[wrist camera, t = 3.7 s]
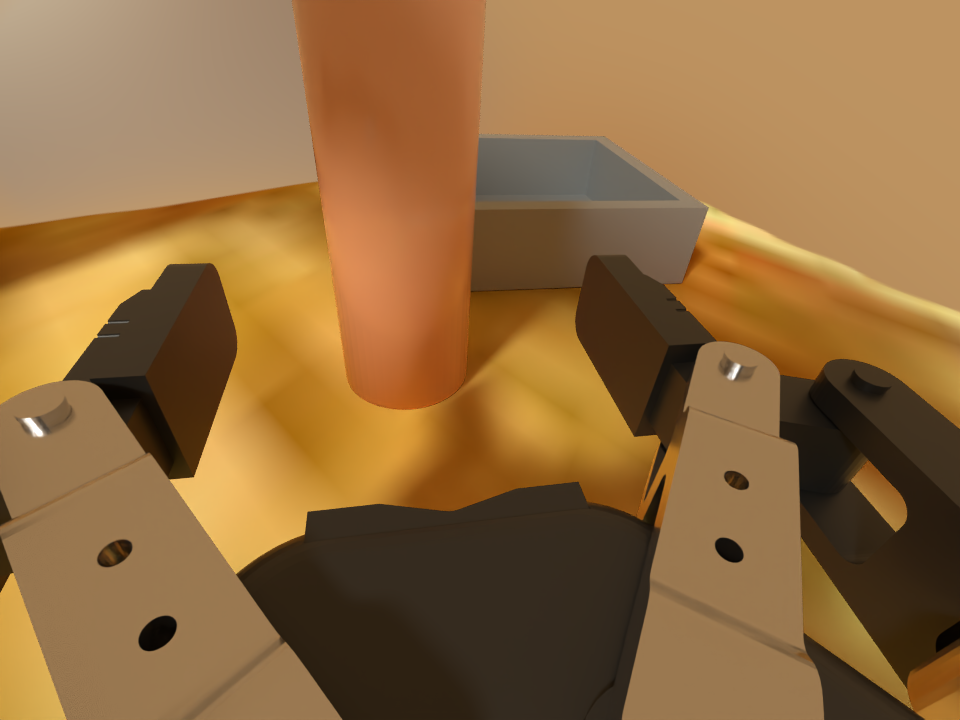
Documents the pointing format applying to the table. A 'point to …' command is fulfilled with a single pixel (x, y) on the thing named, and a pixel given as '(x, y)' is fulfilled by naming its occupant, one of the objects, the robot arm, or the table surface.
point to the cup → (397, 183)
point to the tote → (574, 213)
